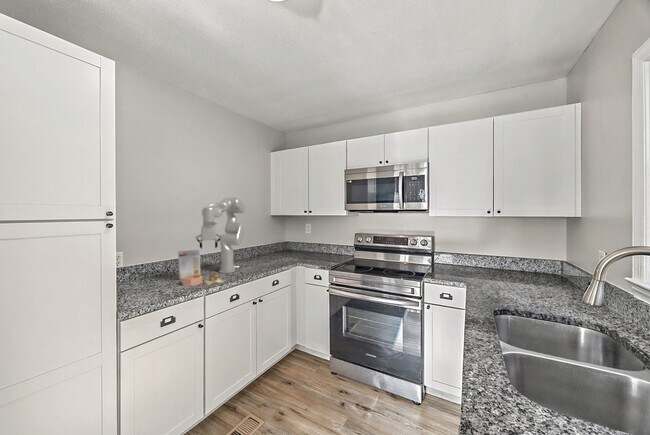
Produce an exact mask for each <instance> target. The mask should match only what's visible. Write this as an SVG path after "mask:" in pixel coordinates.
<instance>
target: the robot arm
mask: <svg viewBox="0 0 650 435" xmlns="http://www.w3.org/2000/svg"><path fill="white" fill-rule="evenodd" d="M224 212H225V213H226V215H227V219H226V220H227V221H226V223H225V227H224V232H225V233H223V234H221V235H219V234H217V228H216V225H217V222H215V218H220V217H222V216H223V213H224ZM245 212H246V205H245V203H243V201H242V200H241V199H240V198H239V197H226V198H223V199H222V200H220V201H219V202H213V203H212V204H211V203H210V204H208V205H206V206H204V207H203V208H202V210H201V215H202V226H201V230H200V231H201V232H200V234H199V235H196V236H195V237H194V238H195V239H196V241H197V242H198V243H199V248H200V249H201V250H202V249H203V241H215V242H214V248H215V249H217V248H218V245H219V244H218V243H220V255H221V256H220V261H221V265H220V266H221V268H220V269H219V273H220V274H227V273H235V272H236V269H239V268H240V266H239V265H234V249H233V247H232V246H240V245H241V243H242V242H243V237H244V233H245V225H244V224H243V223H241V222H238V221H239V219H238V217H237V216H236V214H244V213H245ZM217 237H218V239H217ZM199 238H200V239H199Z"/></svg>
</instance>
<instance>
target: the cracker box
mask: <svg viewBox="0 0 650 435" xmlns="http://www.w3.org/2000/svg"><path fill="white" fill-rule="evenodd" d="M177 255H178V257H177V258H178V280H180V281H182V277H184V276H188V275H201V250H199V249H191V250H183V251H181V250H180V251H177Z"/></svg>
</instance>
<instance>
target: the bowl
mask: <svg viewBox="0 0 650 435" xmlns="http://www.w3.org/2000/svg"><path fill="white" fill-rule="evenodd" d="M181 284H182V286H185V287H186V286H189V287H190V286H197V285H200V284H203V275H201V274H200V275H188V276H184V277H182V280H181Z"/></svg>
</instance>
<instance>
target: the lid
mask: <svg viewBox="0 0 650 435" xmlns="http://www.w3.org/2000/svg"><path fill="white" fill-rule="evenodd" d="M208 274H209V278H207V279H205V280H203V281H204V282H203V284H205V285H212V284H214V285H215V284H218V283H219V282H220V283H223V282H222V281H223V278H220V277H218V272H217V271H211V272H209V273H208Z"/></svg>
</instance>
